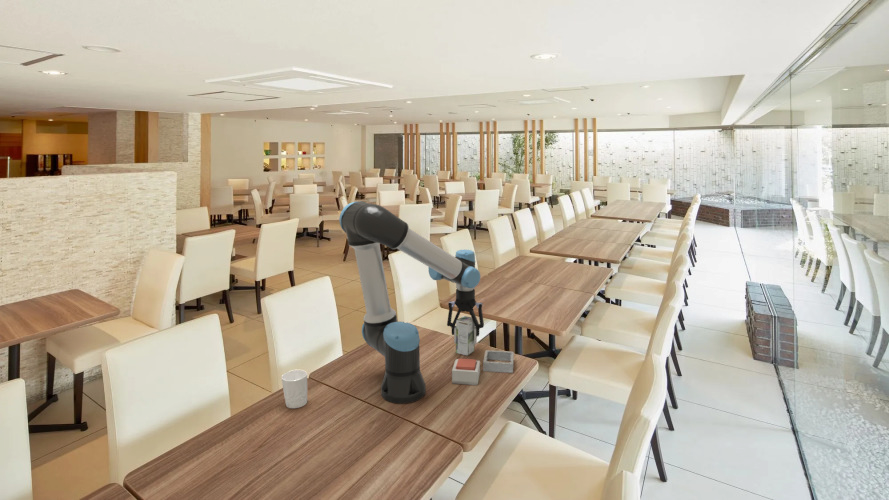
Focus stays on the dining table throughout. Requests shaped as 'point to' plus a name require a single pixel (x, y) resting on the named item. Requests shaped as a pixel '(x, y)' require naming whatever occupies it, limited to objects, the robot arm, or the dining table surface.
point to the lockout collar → (498, 365)
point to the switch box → (466, 375)
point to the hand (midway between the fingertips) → (465, 342)
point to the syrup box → (465, 335)
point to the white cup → (295, 388)
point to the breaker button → (466, 364)
